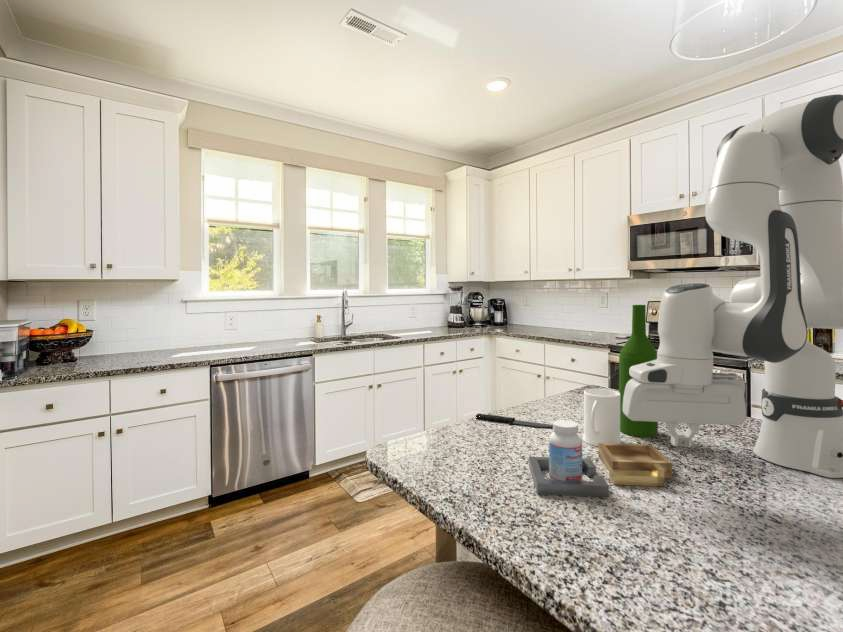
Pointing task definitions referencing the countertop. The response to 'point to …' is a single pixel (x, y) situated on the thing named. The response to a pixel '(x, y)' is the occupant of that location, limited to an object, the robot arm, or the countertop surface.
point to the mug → (601, 416)
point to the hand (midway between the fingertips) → (681, 445)
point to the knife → (509, 420)
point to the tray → (633, 457)
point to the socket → (567, 487)
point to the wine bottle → (630, 355)
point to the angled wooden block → (638, 477)
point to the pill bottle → (565, 452)
